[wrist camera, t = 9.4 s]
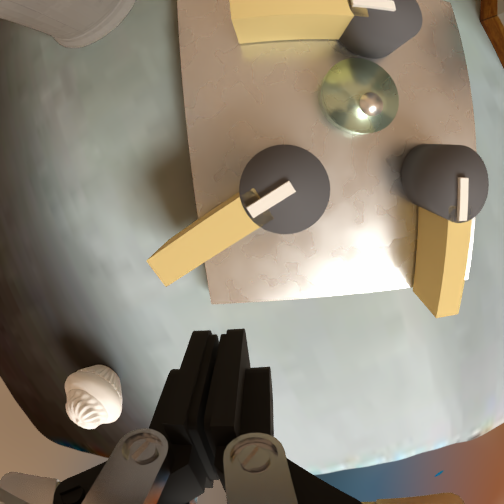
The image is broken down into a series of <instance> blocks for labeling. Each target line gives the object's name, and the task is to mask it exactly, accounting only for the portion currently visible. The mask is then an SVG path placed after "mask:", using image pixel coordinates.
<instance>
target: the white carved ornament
mask: <svg viewBox="0 0 504 504" xmlns="http://www.w3.org/2000/svg"><path fill="white" fill-rule="evenodd" d="M65 391H66V395H67V403H66V411H67V414H68V416H69V417H70V419H71V420H72V421H73V422H74V423H76V424H78V426H81V427H82V428H86V429H95V428H96V427H97V426H99V424H102V423H111V422H114V421H116V420H117V419H118V418H119V416H120V414H121V411H122V392H121V384H120V379H119V377H118V376H117V374H116V373H115V372H114V371H113V370H112V369H111V368H109V367H106V366H104V365H94V366H91V367H87V368H83V369H81V370H77V372H75V373H72V374H71V375H69V376H68V378H67V380H66V382H65Z"/></svg>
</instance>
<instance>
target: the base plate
mask: <svg viewBox="0 0 504 504" xmlns="http://www.w3.org/2000/svg"><path fill="white" fill-rule="evenodd" d="M416 2H417V3H418V5H419V7H420V10H421V13H422V19H423V21H422V27H421V29H420V31H419V32H418V34H417V35H415V36H414V37H413V38H411V39H410V40H408V41H407V42H406V43H404V44H403V45H402V46H400V47H399V48H397V49H396V50H395V51H393V52H392V53H391V54H389V55H388V56H386V57H383V58H378V59H370V58H365V57H361V56H359V55H357V54H355V53H353V52H351V51H350V50H348V49H347V48H346V47H345V46H344V45H343V44H342V43H341V42H340V40H339V39H298V40H277V41H263V42H252V43H243V44H239V41H238V38H237V35H236V32H235V29H234V26H233V23H232V20H231V11H230V2H229V0H177V8H178V28H179V44H180V58H181V71H182V83H183V95H184V105H185V115H186V125H187V135H188V144H189V153H190V161H191V169H192V177H193V185H194V193H195V200H196V208H197V215H198V219H199V218H201V217H202V216H204V215H205V214H207V213H208V212H209V211H211V210H212V209H214V208H215V207H217V206H218V205H220V204H221V203H223V202H224V201H226V200H227V199H229V198H230V197H232V196H233V195H235V194H236V193H238V192H239V184H240V179H241V175H242V172H243V170H244V168H245V166H246V165H247V163H248V162H249V161H250V160H251V159H252V158H253V157H254V156H255V155H256V154H257V153H259V152H260V151H262V150H264V149H266V148H268V147H271V146H275V145H282V144H284V145H294V146H298V147H301V148H303V149H305V150H307V151H309V152H311V153H312V154H313V155H314V156H316V157H317V158H318V159H319V161H320V162H321V163H322V165H323V166H324V168H325V170H326V172H327V174H328V177H329V181H330V198H329V202H328V205H327V207H326V210H325V212H324V213H323V215H322V216H321V217H320V219H319V220H318V221H317V222H316V223H315V224H313V225H312V226H311V227H309V228H307V229H305V230H303V231H301V232H298V233H293V234H277V233H272V232H269V231H267V230H264V229H263V228H261V227H260V228H258V229H257V230H255V231H253V232H252V233H250V234H249V235H247V236H245V237H244V238H242V239H241V240H239V241H237V242H236V243H234V244H233V245H231V246H229V247H228V248H226V249H225V250H223V251H221V252H220V253H218V254H217V255H215V256H214V257H212V258H210V259H209V260H207V261H206V262H205V268H206V274H207V280H208V286H209V292H210V298H211V304H226V303H244V302H261V301H276V300H290V299H303V298H315V297H326V296H337V295H347V294H357V293H367V292H376V291H385V290H394V289H402V288H410V287H413V284H414V275H415V265H416V252H417V237H418V211H419V206H417V205H415V204H414V203H413V202H412V201H411V200H410V199H409V198H408V196H407V194H406V193H405V190H404V188H403V184H402V167H403V163H404V161H405V159H406V157H407V155H408V154H409V153H410V151H411V150H413V149H414V148H415V147H417V146H419V145H422V144H451V145H464V146H467V147H469V148H471V149H473V150H474V151H475V152H476V137H475V123H474V113H473V104H472V96H471V89H470V82H469V76H468V71H467V65H466V60H465V55H464V51H463V46H462V42H461V38H460V34H459V30H458V26H457V23H456V19H455V16H454V12H453V9H452V6H451V3H449V2H446V1H442V0H416ZM474 227H475V217H474V218H473V219H472V223H471V235H470V245H469V253H468V261H467V268H466V275H465V280H468V276H469V270H470V263H471V255H472V247H473V238H474Z"/></svg>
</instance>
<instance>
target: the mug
mask: <svg viewBox="0 0 504 504" xmlns="http://www.w3.org/2000/svg"><path fill="white" fill-rule="evenodd" d="M480 22H481V24H482V26H483V28H484V30H485V31H486V33H487V35H488V37H489V39H490V41H491V43H492V45H493V47H494V49H495V51H496V53H497V55H498V57H499V59H500V61H501V64H502V66H503V68H504V0H481V9H480Z"/></svg>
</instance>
